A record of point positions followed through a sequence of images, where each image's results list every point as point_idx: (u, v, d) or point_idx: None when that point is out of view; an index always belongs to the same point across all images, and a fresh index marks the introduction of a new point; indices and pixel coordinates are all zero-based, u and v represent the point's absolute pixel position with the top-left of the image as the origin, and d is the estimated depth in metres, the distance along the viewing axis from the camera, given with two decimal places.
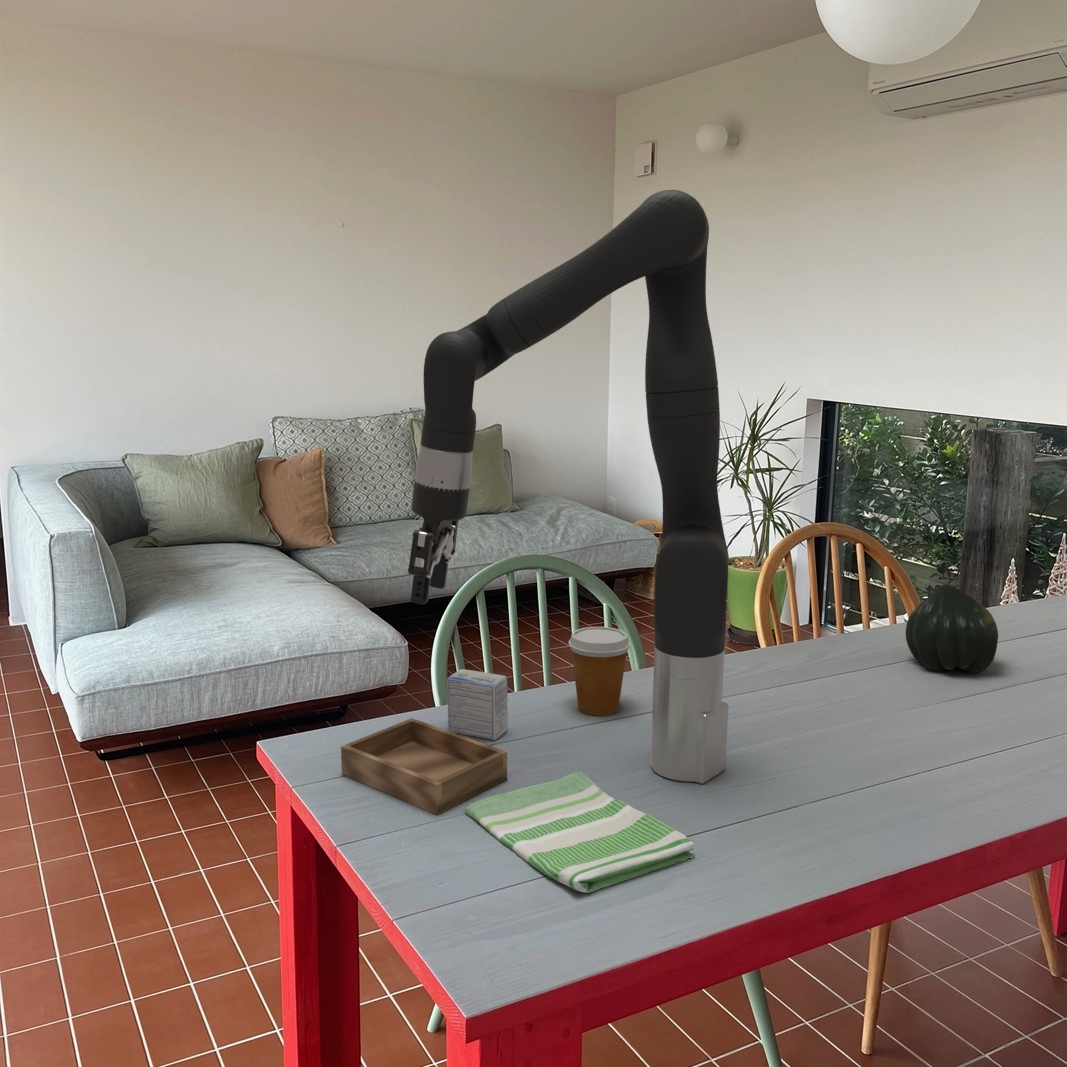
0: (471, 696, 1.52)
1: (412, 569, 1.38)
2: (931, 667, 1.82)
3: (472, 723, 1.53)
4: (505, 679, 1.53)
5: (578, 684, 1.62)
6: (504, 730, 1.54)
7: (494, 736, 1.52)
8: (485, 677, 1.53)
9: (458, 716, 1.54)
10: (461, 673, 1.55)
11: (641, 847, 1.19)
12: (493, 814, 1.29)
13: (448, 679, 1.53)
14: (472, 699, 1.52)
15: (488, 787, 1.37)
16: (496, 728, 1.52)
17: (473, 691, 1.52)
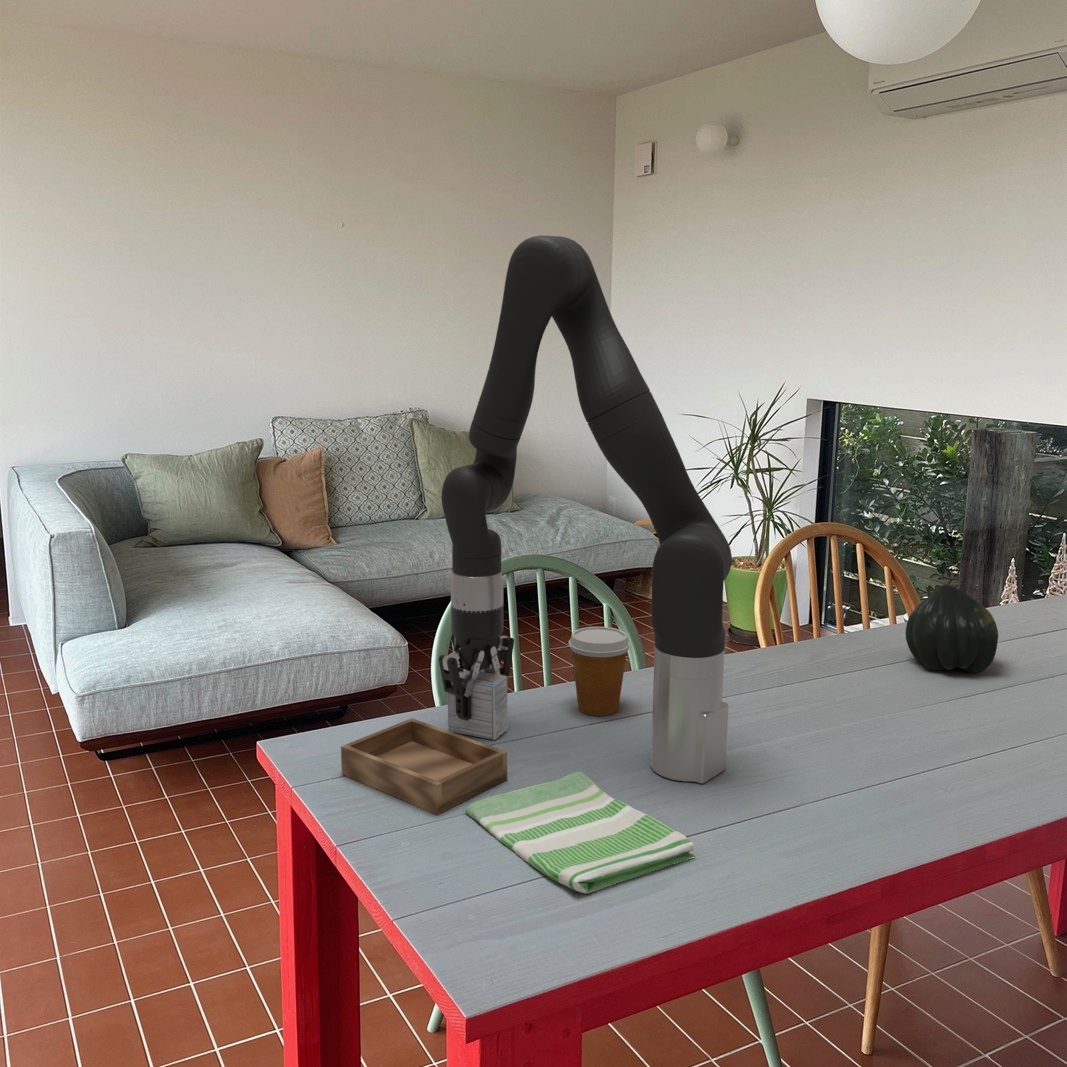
0: (471, 696, 1.52)
1: (446, 689, 1.50)
2: (931, 667, 1.82)
3: (472, 723, 1.53)
4: (505, 679, 1.53)
5: (578, 684, 1.62)
6: (504, 730, 1.54)
7: (494, 736, 1.52)
8: (485, 677, 1.53)
9: None
10: None
11: (641, 848, 1.19)
12: (494, 814, 1.29)
13: None
14: (472, 699, 1.52)
15: (488, 787, 1.37)
16: (496, 728, 1.52)
17: (473, 690, 1.52)
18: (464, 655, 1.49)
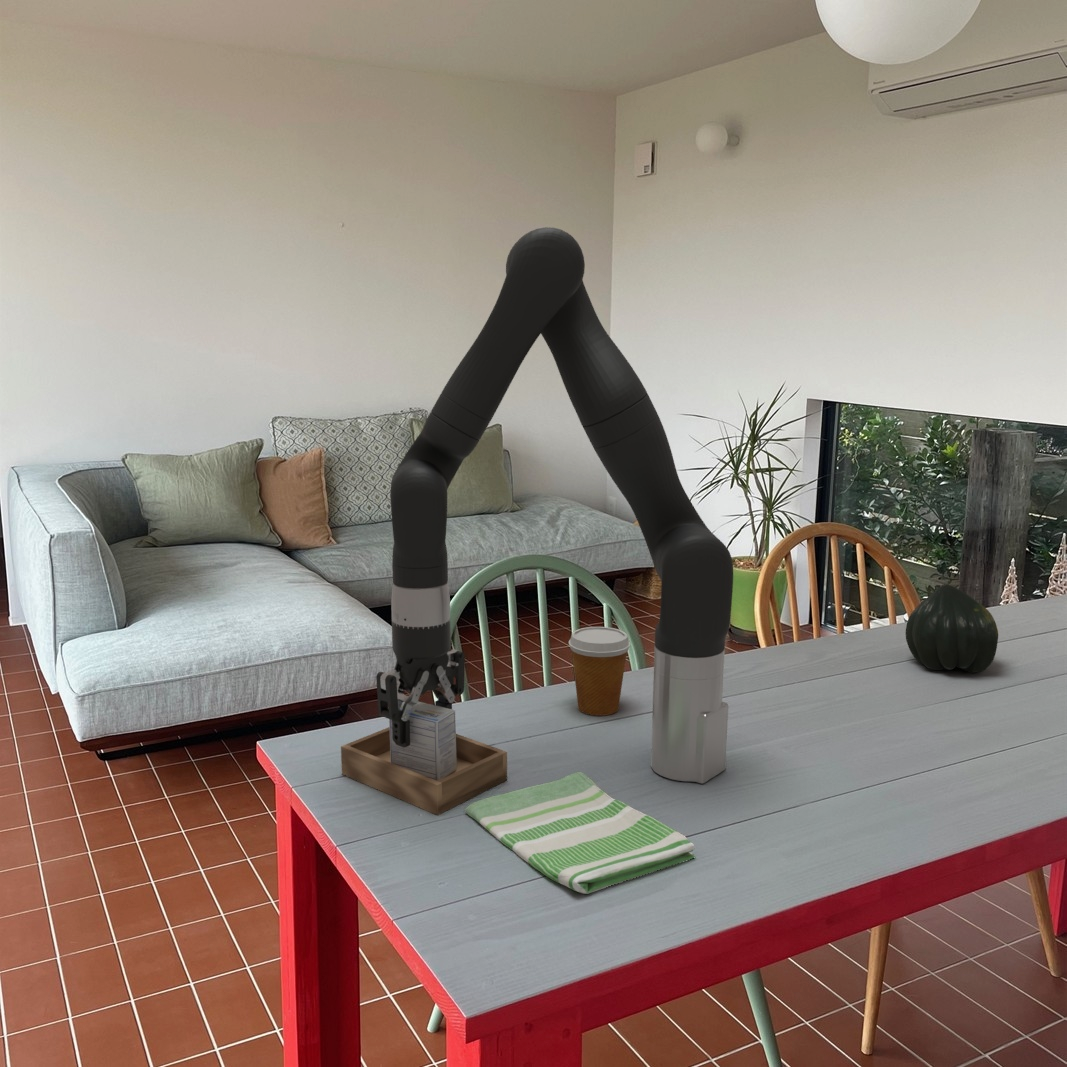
0: (413, 731, 1.37)
1: (381, 712, 1.33)
2: (931, 667, 1.82)
3: (415, 761, 1.38)
4: (452, 713, 1.37)
5: (578, 684, 1.62)
6: (451, 770, 1.39)
7: (438, 777, 1.36)
8: (430, 710, 1.38)
9: (401, 753, 1.39)
10: None
11: (641, 848, 1.19)
12: (494, 814, 1.28)
13: None
14: (415, 735, 1.37)
15: (488, 787, 1.37)
16: (440, 768, 1.36)
17: (416, 725, 1.36)
18: (405, 675, 1.34)
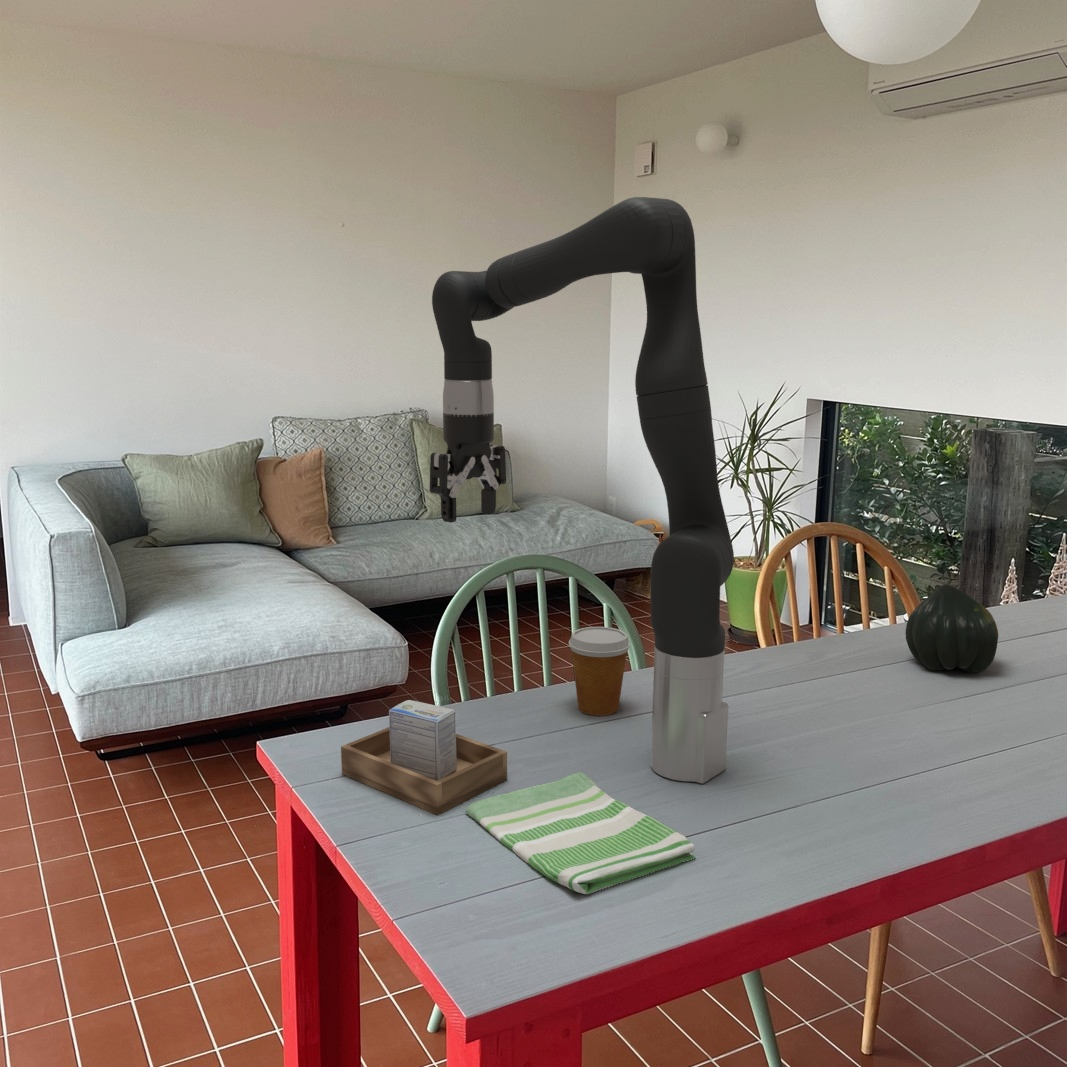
0: (413, 731, 1.37)
1: (432, 488, 1.53)
2: (931, 667, 1.82)
3: (415, 761, 1.38)
4: (452, 713, 1.37)
5: (578, 684, 1.62)
6: (451, 770, 1.39)
7: (438, 777, 1.36)
8: (430, 710, 1.38)
9: (401, 753, 1.39)
10: (405, 705, 1.40)
11: (641, 849, 1.19)
12: (494, 814, 1.28)
13: (390, 711, 1.38)
14: (415, 735, 1.37)
15: (488, 787, 1.37)
16: (440, 768, 1.36)
17: (416, 725, 1.36)
18: (455, 458, 1.54)
